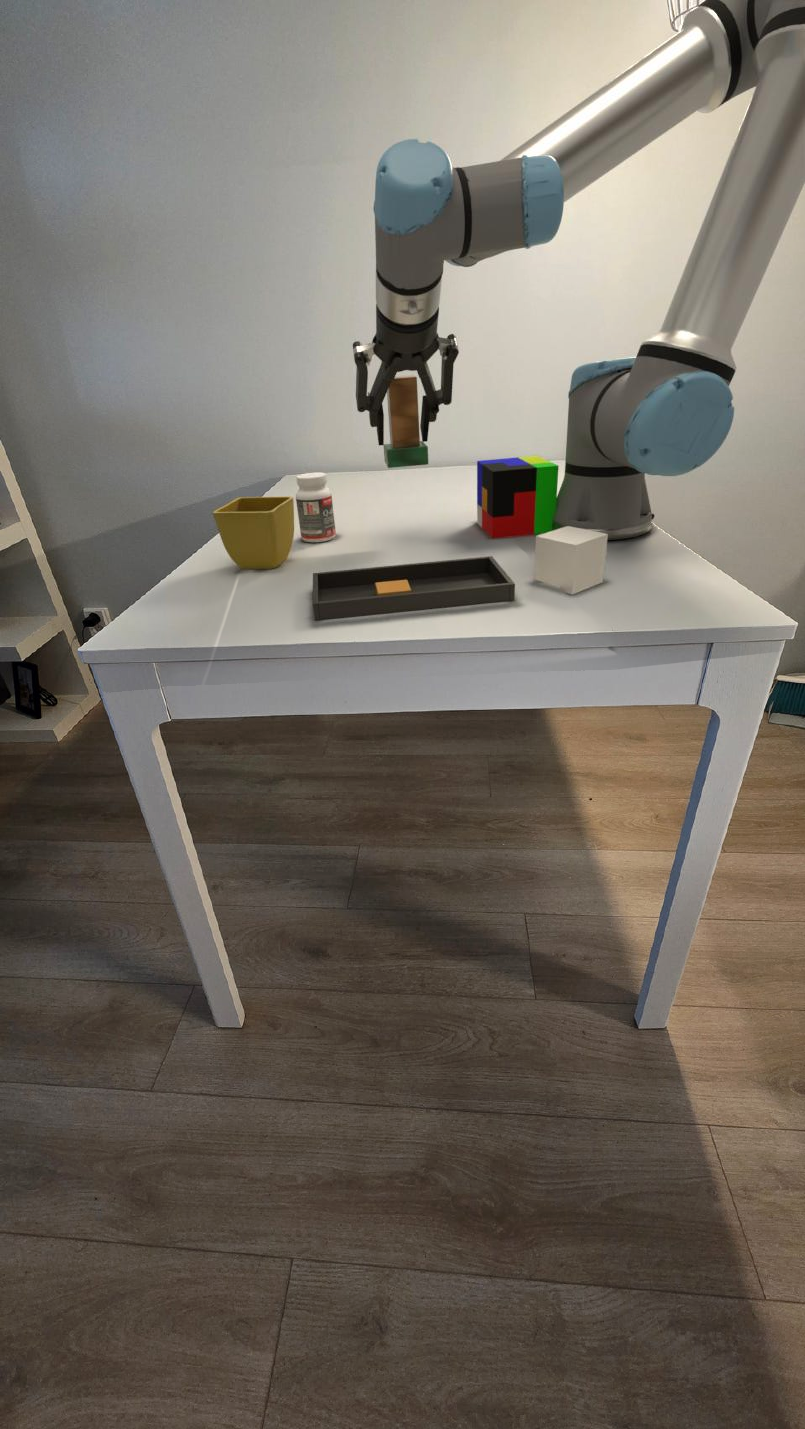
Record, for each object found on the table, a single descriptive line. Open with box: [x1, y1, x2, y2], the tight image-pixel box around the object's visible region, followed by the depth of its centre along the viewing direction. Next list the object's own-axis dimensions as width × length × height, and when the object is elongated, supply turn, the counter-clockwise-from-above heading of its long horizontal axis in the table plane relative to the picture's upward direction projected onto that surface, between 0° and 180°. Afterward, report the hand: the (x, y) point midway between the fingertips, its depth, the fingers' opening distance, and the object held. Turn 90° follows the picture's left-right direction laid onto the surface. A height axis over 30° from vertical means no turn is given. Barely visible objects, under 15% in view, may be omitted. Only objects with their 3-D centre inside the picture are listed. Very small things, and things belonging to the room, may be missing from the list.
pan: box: [312, 555, 516, 622], centre depth 78 cm, size 23×11×3 cm, turn 97°
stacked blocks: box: [382, 375, 429, 469], centre depth 94 cm, size 6×6×12 cm
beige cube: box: [533, 526, 608, 596], centre depth 79 cm, size 6×6×6 cm
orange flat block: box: [375, 580, 411, 596], centre depth 78 cm, size 4×4×1 cm
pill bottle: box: [295, 471, 337, 543], centre depth 103 cm, size 6×6×10 cm
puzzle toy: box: [476, 455, 560, 539], centre depth 102 cm, size 10×10×10 cm
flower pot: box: [212, 496, 295, 570], centre depth 92 cm, size 9×9×9 cm
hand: (402, 435), depth 98 cm, fingers closed on stacked blocks, 6 cm apart
